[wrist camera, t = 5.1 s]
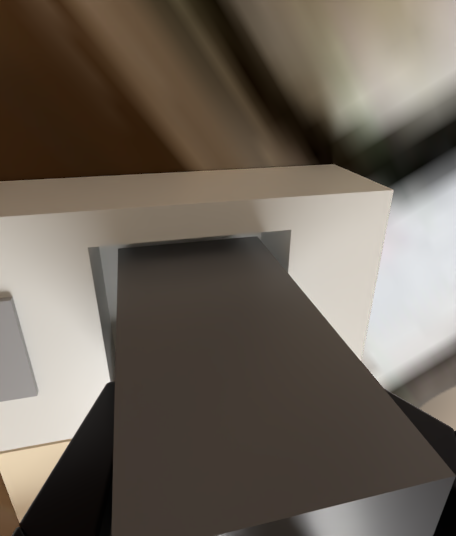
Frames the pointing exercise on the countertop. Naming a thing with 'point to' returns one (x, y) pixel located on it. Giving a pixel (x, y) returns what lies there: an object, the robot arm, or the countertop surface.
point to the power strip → (159, 233)
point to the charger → (253, 408)
